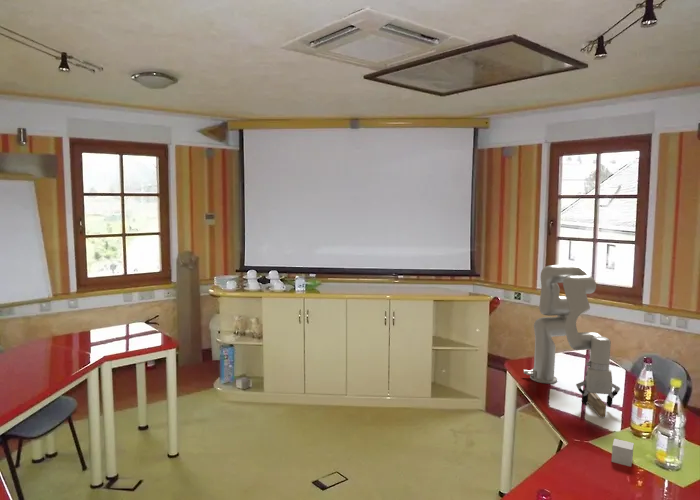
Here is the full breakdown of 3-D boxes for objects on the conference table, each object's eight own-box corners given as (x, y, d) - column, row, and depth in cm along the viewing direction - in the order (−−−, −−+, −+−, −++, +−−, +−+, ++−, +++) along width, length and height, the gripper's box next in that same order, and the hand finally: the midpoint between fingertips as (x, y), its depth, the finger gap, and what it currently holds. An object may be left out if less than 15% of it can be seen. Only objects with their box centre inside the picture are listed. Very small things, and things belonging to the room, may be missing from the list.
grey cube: (611, 462, 174) (612, 445, 174) (613, 454, 179) (614, 438, 179) (631, 467, 171) (632, 449, 170) (632, 459, 176) (633, 442, 175)
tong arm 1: (600, 416, 210) (600, 405, 209) (587, 401, 226) (588, 390, 225) (602, 417, 210) (603, 405, 209) (590, 401, 226) (590, 390, 225)
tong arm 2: (602, 417, 210) (603, 405, 209) (591, 401, 226) (591, 391, 225) (605, 417, 209) (606, 405, 209) (593, 402, 226) (594, 391, 225)
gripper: (580, 367, 213) (577, 406, 215) (624, 370, 211) (621, 410, 212) (575, 361, 221) (573, 400, 222) (617, 364, 218) (615, 403, 220)
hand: (596, 404), depth 217 cm, fingers open, 9 cm apart
